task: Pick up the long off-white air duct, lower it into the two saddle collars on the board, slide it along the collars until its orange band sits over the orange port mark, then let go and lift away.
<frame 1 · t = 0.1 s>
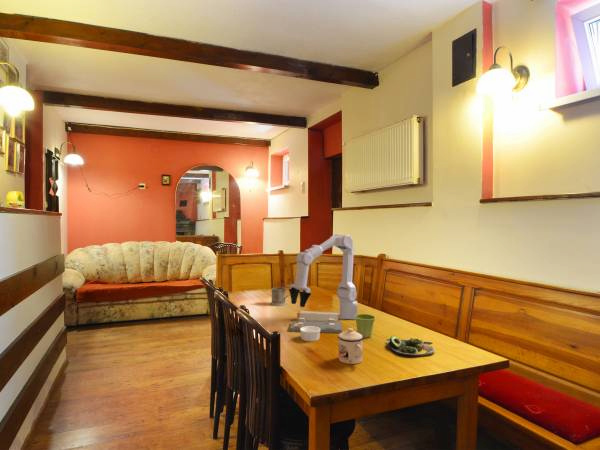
hand: (297, 305, 177), 10 cm above the table, tool pointing down, fingers open, 7 cm apart
collar stand: (316, 328, 175), on the table
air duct: (317, 320, 189), on the table
plant pot: (364, 336, 164), on the table
salad plate: (408, 350, 148), on the table
ramekin: (310, 339, 160), on the table
teacup with lid: (352, 361, 135), on the table
mug: (281, 304, 223), on the table
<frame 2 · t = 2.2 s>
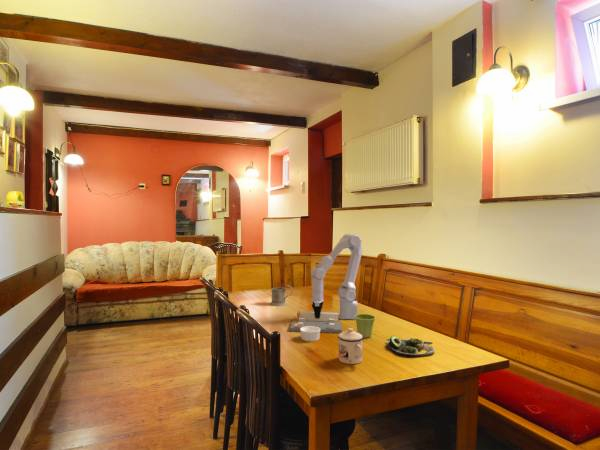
hand: (317, 317, 189), 2 cm above the table, tool pointing down, fingers closed on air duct, 4 cm apart
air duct: (317, 320, 189), on the table, touching gripper
everything else where it was.
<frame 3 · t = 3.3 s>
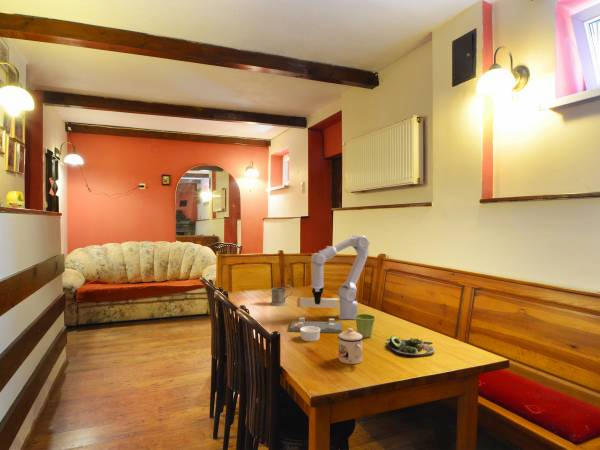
hand: (317, 303, 189), 9 cm above the table, tool pointing down, fingers closed on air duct, 4 cm apart
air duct: (317, 306, 189), point 7 cm above the table, touching gripper
everything else where it was.
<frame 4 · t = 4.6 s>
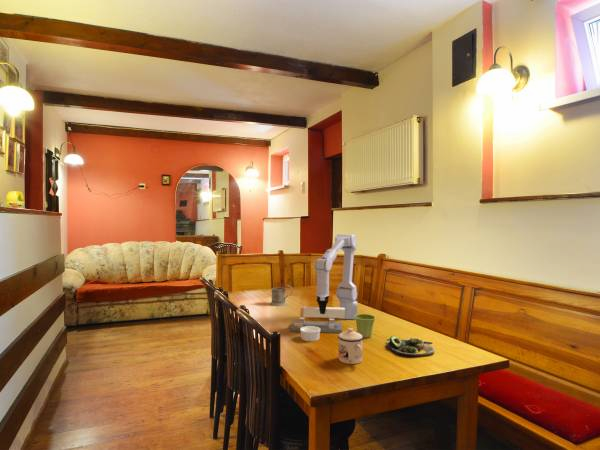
hand: (322, 312, 175), 8 cm above the table, tool pointing down, fingers closed on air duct, 4 cm apart
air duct: (322, 316, 175), point 6 cm above the table, touching gripper
everything else where it was.
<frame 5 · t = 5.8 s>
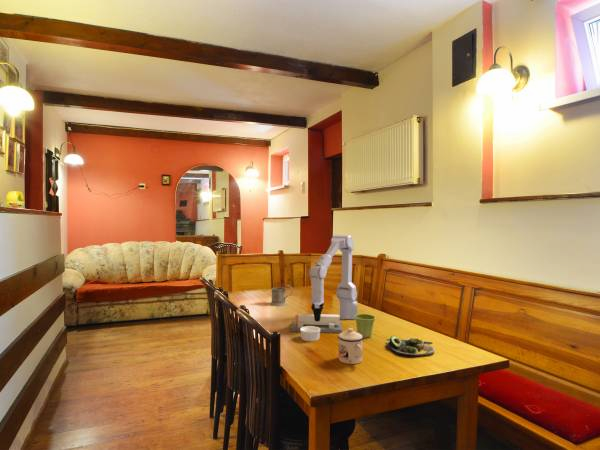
hand: (317, 319, 175), 4 cm above the table, tool pointing down, fingers closed on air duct, 4 cm apart
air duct: (317, 323, 175), point 2 cm above the table, touching gripper
everything else where it was.
when the fingers open (4 cm above the table, at t = 7.0 s): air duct stays where it is, resting on collar stand.
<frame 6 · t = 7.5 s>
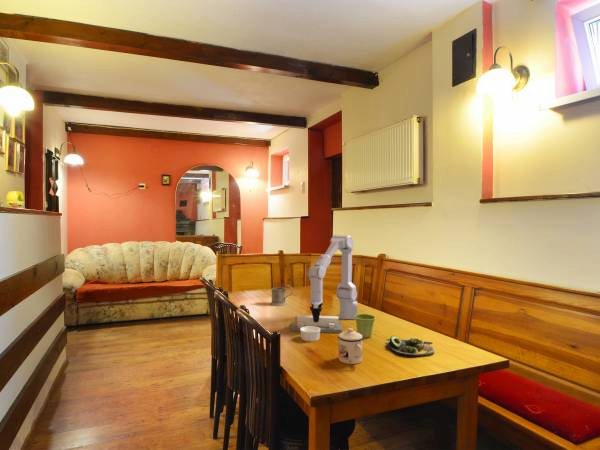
hand: (316, 319, 175), 4 cm above the table, tool pointing down, fingers open, 7 cm apart
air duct: (316, 325, 175), point 2 cm above the table, touching collar stand
everything else where it was.
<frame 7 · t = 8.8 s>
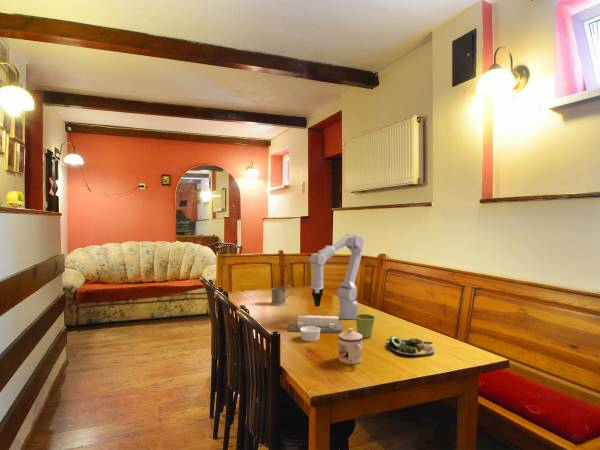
hand: (317, 304, 183), 9 cm above the table, tool pointing down, fingers open, 7 cm apart
nothing on the table moved.
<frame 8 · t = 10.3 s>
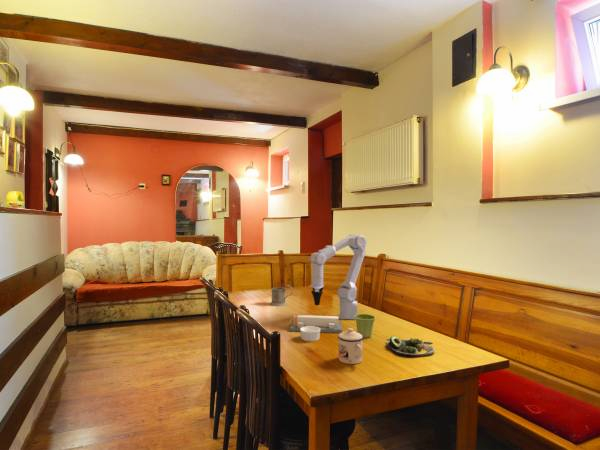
hand: (317, 303, 186), 9 cm above the table, tool pointing down, fingers open, 7 cm apart
nothing on the table moved.
at the end: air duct 0.1 cm off-centre on the collar stand, point 1.6 cm above the collar stand's base; the gripper is holding nothing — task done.
